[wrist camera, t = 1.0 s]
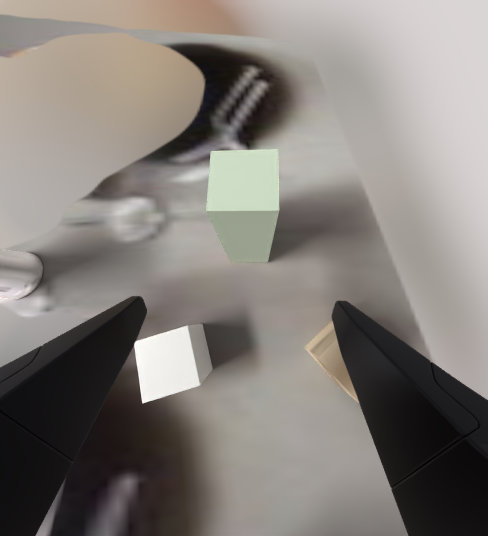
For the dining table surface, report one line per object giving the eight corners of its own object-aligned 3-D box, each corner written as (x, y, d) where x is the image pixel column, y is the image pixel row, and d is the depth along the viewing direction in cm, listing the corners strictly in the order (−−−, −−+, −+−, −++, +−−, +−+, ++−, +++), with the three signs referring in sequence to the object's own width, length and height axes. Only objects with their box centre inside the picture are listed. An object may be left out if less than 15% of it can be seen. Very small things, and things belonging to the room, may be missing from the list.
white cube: (213, 369, 21) (200, 385, 16) (168, 382, 21) (142, 403, 16) (202, 323, 22) (187, 325, 17) (160, 336, 22) (133, 341, 17)
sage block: (267, 262, 23) (279, 210, 12) (230, 262, 24) (206, 210, 12) (267, 228, 24) (277, 149, 13) (232, 228, 25) (211, 151, 13)
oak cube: (372, 352, 20) (408, 363, 16) (339, 386, 20) (366, 409, 15) (336, 315, 22) (359, 316, 17) (304, 347, 21) (318, 356, 16)
